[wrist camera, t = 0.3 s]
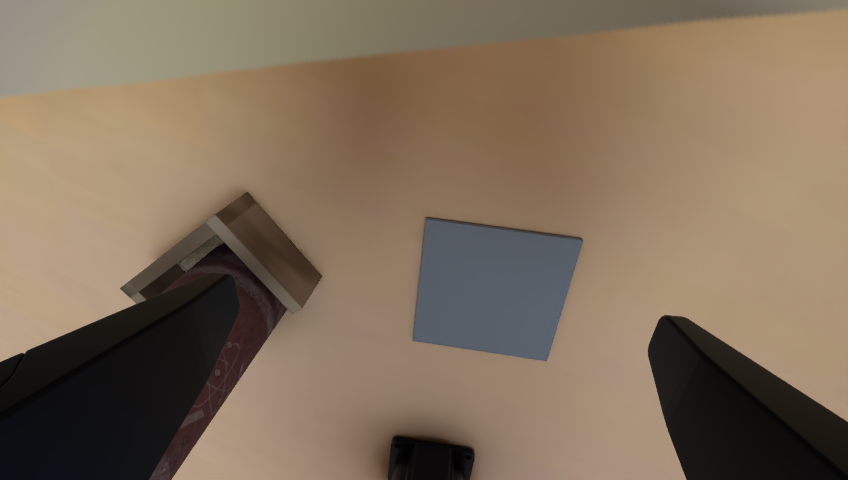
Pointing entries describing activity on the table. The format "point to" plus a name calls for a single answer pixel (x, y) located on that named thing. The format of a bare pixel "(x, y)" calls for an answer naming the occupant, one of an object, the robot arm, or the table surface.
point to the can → (224, 350)
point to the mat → (492, 287)
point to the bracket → (251, 243)
